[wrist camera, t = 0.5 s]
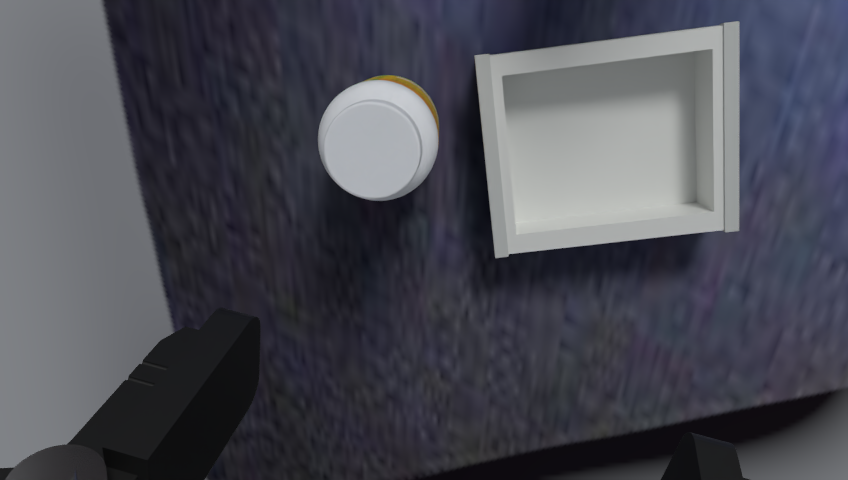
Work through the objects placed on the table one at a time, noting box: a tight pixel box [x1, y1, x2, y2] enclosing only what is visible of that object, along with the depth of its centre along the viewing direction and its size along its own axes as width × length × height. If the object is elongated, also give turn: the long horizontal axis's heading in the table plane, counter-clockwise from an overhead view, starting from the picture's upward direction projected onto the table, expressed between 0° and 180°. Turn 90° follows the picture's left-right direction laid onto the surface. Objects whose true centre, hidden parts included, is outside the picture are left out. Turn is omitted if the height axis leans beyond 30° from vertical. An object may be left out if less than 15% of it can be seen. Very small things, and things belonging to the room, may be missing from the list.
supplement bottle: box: [318, 75, 439, 201], centre depth 31 cm, size 5×5×10 cm
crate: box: [474, 21, 739, 258], centre depth 34 cm, size 10×12×3 cm
